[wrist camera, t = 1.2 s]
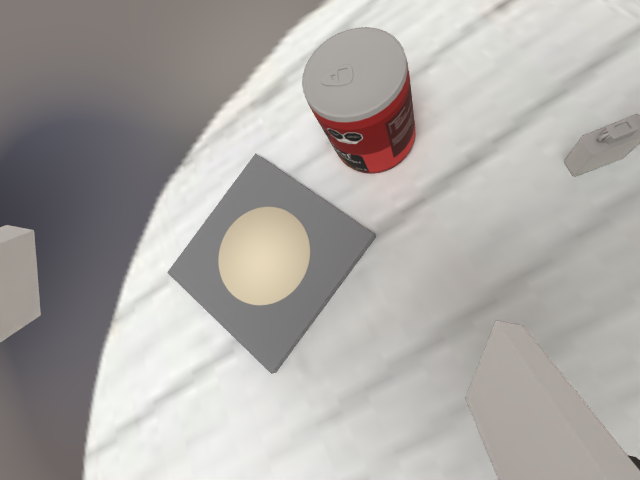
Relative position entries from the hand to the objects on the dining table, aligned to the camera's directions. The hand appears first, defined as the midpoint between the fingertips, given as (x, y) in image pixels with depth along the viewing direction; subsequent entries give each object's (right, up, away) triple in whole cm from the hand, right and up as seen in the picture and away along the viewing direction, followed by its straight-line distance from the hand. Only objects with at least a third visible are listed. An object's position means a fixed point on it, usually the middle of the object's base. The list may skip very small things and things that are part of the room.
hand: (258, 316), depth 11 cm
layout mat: (-4, +1, +28) cm, 28 cm away
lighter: (+26, +10, +21) cm, 35 cm away
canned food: (+7, +12, +28) cm, 31 cm away
